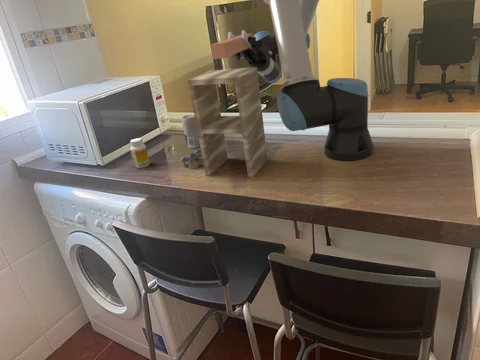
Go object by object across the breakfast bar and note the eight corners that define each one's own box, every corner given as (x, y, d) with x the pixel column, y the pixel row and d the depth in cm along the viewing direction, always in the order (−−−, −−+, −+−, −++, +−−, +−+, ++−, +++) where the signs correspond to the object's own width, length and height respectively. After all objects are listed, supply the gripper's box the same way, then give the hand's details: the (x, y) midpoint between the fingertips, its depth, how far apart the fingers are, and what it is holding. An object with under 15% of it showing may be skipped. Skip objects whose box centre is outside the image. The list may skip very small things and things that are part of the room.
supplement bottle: (153, 162, 138) (146, 137, 134) (143, 168, 134) (137, 142, 130) (141, 161, 141) (134, 137, 137) (132, 167, 136) (124, 142, 132)
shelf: (267, 159, 126) (256, 67, 113) (252, 177, 115) (239, 77, 102) (223, 158, 132) (209, 70, 120) (205, 175, 121) (187, 80, 108)
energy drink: (193, 143, 152) (187, 114, 147) (203, 144, 149) (198, 114, 144) (184, 148, 148) (178, 118, 143) (194, 149, 145) (188, 119, 140)
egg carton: (192, 171, 127) (190, 159, 125) (179, 166, 132) (177, 155, 130) (216, 159, 133) (214, 148, 131) (203, 155, 138) (201, 145, 136)
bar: (254, 45, 128) (252, 33, 127) (225, 58, 109) (223, 43, 107) (243, 46, 130) (241, 34, 128) (212, 59, 110) (210, 44, 108)
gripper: (282, 70, 137) (260, 44, 116) (239, 73, 144) (210, 49, 122) (283, 50, 137) (262, 20, 116) (240, 53, 144) (212, 26, 123)
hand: (235, 35), depth 119 cm, fingers closed on bar, 4 cm apart
